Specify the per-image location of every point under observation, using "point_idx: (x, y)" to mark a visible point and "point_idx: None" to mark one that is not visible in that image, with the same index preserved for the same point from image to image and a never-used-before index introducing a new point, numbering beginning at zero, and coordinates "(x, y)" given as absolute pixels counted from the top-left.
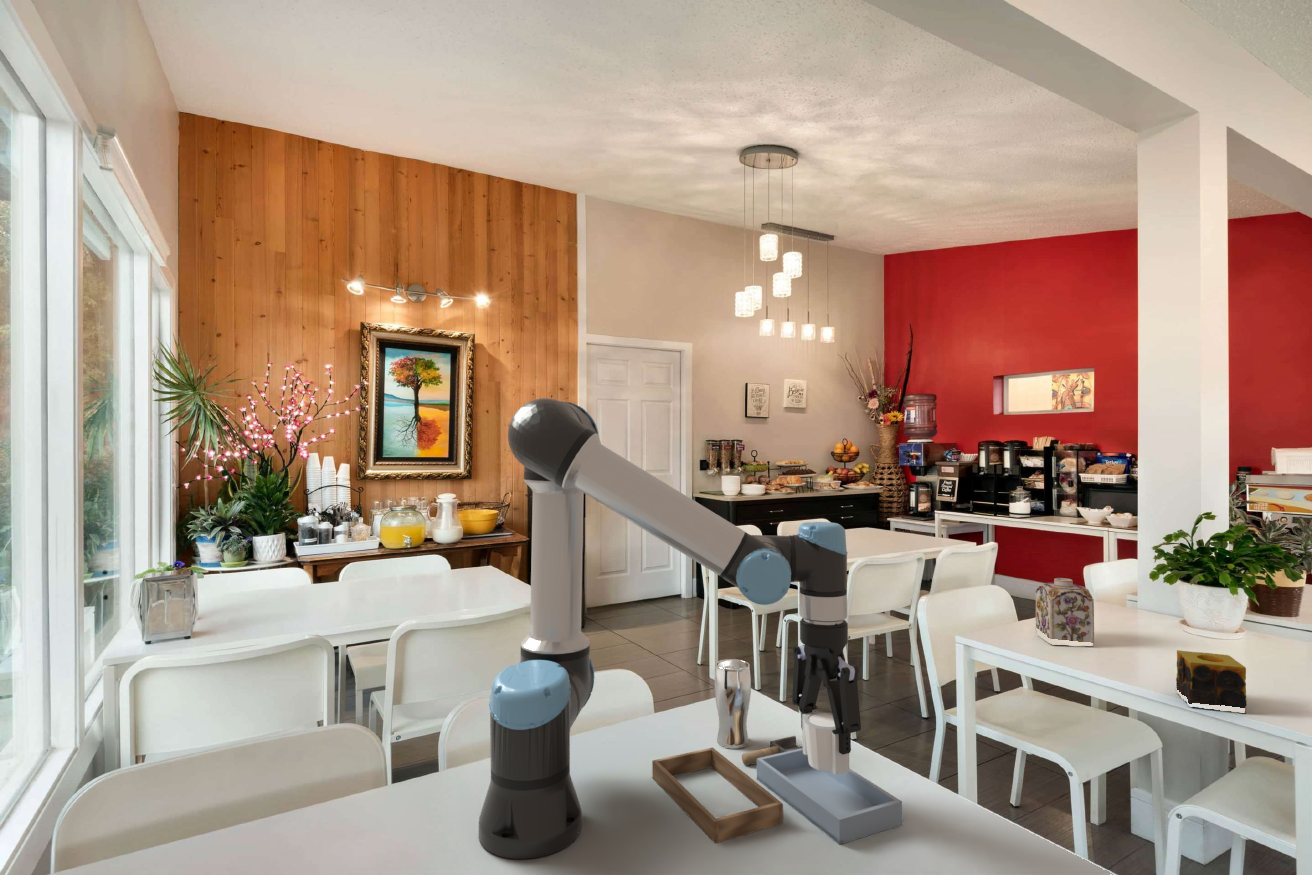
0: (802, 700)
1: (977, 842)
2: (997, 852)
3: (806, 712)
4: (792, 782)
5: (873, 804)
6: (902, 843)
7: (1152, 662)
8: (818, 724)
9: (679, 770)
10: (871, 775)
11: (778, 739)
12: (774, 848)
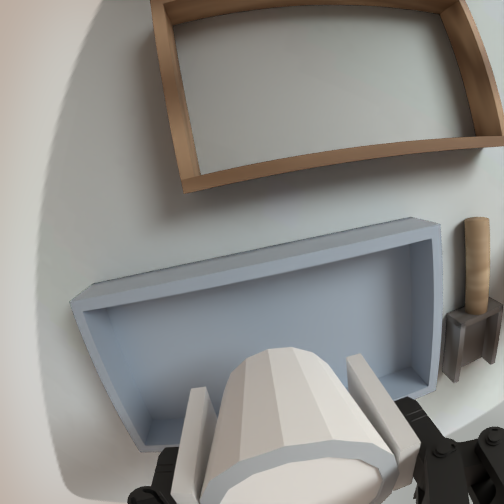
0: (449, 486)
1: (101, 467)
2: (81, 468)
3: (418, 458)
4: (280, 269)
5: None
6: (93, 389)
7: None
8: (274, 478)
9: (460, 58)
10: None
11: (500, 325)
12: (103, 136)
